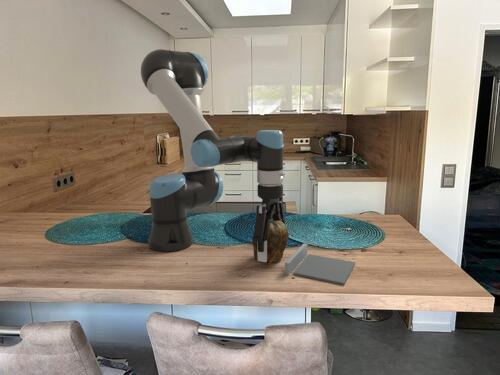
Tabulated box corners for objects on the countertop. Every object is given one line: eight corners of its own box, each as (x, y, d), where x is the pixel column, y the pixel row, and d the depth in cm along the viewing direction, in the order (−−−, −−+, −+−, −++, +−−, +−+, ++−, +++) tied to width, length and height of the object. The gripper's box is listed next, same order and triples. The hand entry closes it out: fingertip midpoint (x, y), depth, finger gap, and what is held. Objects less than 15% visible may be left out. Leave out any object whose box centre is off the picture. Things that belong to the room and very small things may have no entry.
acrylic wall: (284, 274, 99) (284, 262, 98) (303, 253, 113) (303, 243, 112) (288, 275, 99) (288, 263, 98) (307, 254, 112) (307, 243, 112)
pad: (293, 274, 99) (293, 272, 99) (309, 255, 111) (309, 254, 111) (344, 285, 93) (344, 282, 93) (355, 264, 105) (355, 262, 105)
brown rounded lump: (286, 267, 103) (286, 228, 101) (249, 264, 105) (248, 226, 103) (290, 252, 114) (290, 216, 111) (256, 250, 116) (255, 215, 113)
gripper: (265, 193, 93) (265, 271, 97) (296, 177, 113) (295, 242, 118) (239, 190, 96) (241, 266, 101) (274, 175, 116) (274, 239, 121)
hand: (270, 254), depth 109 cm, fingers closed on brown rounded lump, 11 cm apart
